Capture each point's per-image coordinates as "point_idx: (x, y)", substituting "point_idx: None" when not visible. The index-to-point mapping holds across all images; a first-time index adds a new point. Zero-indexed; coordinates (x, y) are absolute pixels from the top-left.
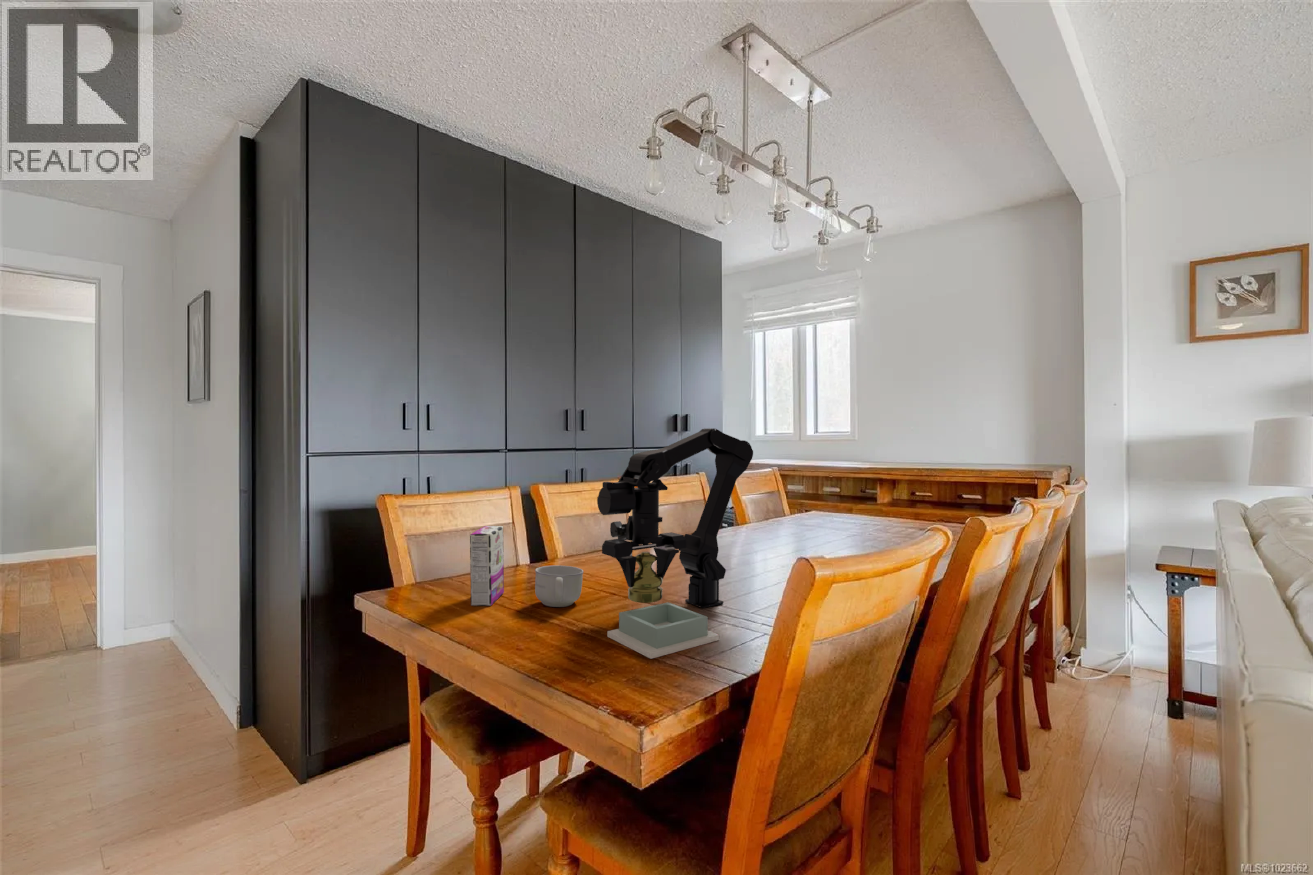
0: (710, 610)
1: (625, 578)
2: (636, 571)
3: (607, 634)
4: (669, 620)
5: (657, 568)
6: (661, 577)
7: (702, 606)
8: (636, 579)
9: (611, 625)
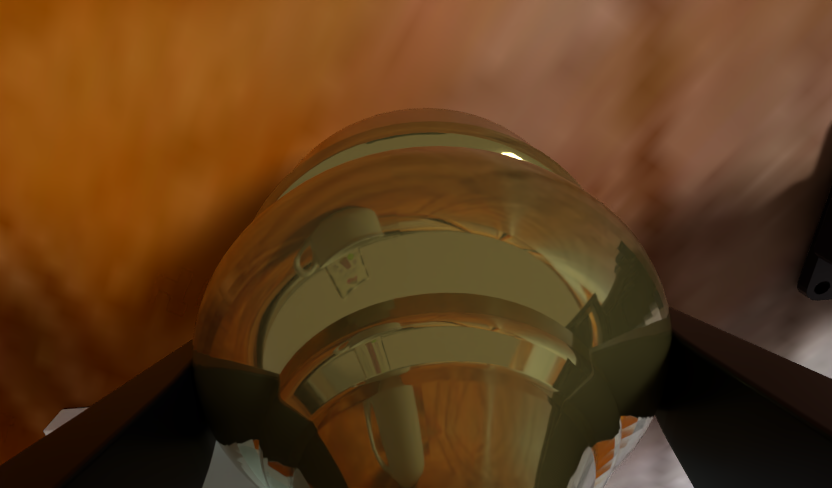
0: (795, 327)
1: (100, 400)
2: (301, 430)
3: (55, 417)
4: None
5: (761, 420)
6: (615, 468)
7: (804, 293)
8: (247, 474)
9: (126, 280)
